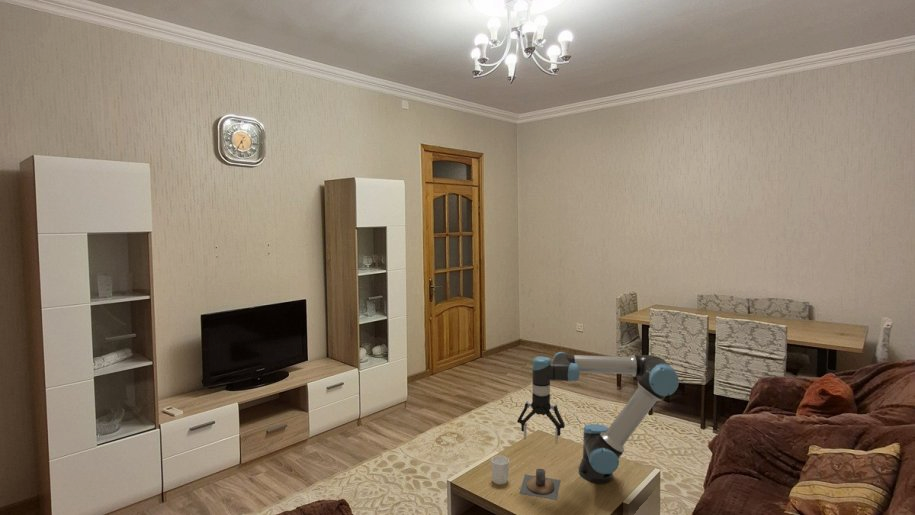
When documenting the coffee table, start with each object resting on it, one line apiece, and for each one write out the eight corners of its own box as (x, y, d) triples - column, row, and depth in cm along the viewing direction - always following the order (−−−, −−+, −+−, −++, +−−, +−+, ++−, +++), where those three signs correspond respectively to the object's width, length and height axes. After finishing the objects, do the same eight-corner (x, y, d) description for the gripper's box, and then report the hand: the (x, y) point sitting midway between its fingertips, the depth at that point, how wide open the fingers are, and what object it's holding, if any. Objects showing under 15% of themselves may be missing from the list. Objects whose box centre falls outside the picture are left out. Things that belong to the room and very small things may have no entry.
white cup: (488, 483, 219) (488, 461, 218) (495, 474, 226) (495, 454, 225) (504, 487, 216) (505, 466, 215) (511, 479, 223) (511, 458, 222)
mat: (560, 481, 221) (560, 480, 221) (557, 501, 206) (557, 500, 206) (525, 475, 226) (525, 474, 226) (519, 494, 210) (519, 493, 210)
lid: (555, 481, 220) (555, 466, 219) (552, 496, 208) (553, 480, 208) (528, 477, 223) (528, 462, 223) (524, 491, 212) (524, 475, 211)
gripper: (571, 393, 212) (570, 440, 214) (514, 387, 219) (513, 433, 221) (570, 399, 205) (569, 448, 207) (510, 393, 212) (510, 440, 214)
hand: (540, 440), depth 214 cm, fingers open, 13 cm apart
